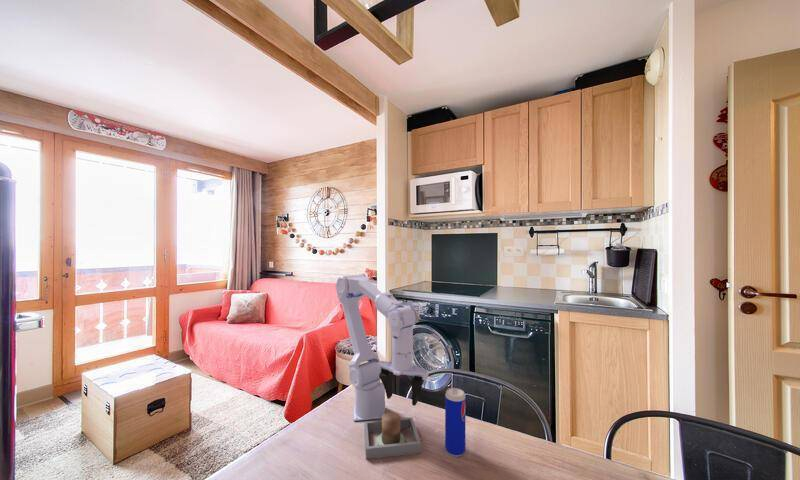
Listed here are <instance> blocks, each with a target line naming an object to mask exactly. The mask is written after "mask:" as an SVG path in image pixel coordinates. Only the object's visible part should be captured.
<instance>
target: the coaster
mask: <svg viewBox="0 0 800 480" xmlns="http://www.w3.org/2000/svg"><path fill="white" fill-rule="evenodd" d="M399 443H406V437H405V436H404V435H403V433H401V432H400V442H399ZM376 444H377V446H378V445H384V444H383V443H382V432H381V433H380V434H379V435H378V436H377V438H376Z"/></svg>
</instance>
